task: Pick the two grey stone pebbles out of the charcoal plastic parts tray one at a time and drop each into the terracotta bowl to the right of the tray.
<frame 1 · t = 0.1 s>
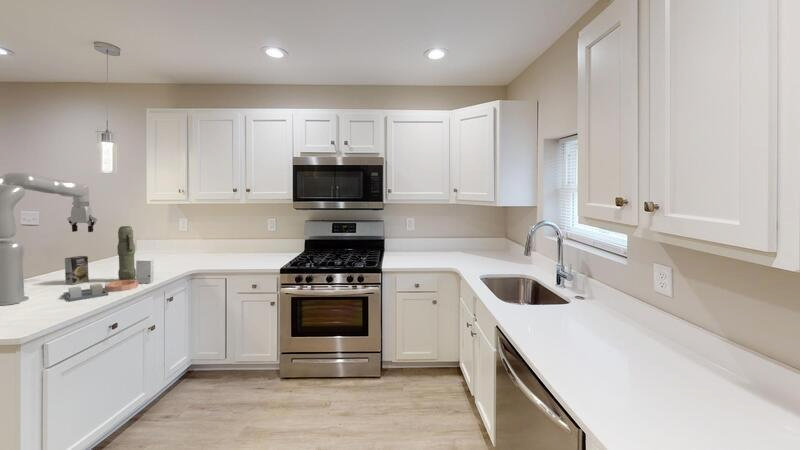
hand: (82, 231, 227), 31 cm above the worktop, tool pointing down, fingers open, 9 cm apart
parts tray: (86, 296, 198), on the worktop
coffee box: (77, 282, 224), on the worktop
pebble a: (75, 297, 194), resting on parts tray
pebble b: (96, 293, 201), resting on parts tray
skincare box: (145, 282, 229), on the worktop
bowl: (121, 288, 214), on the worktop
thermos: (127, 280, 232), on the worktop
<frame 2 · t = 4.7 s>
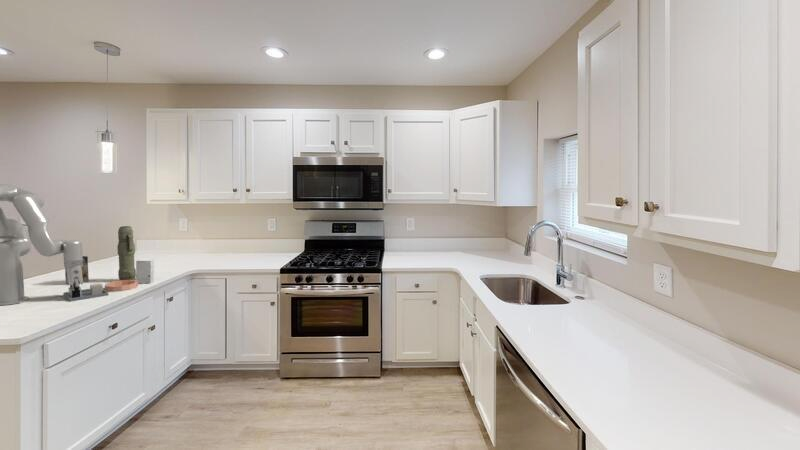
hand: (75, 296, 194), 1 cm above the worktop, tool pointing down, fingers closed on pebble a, 4 cm apart
pebble a: (75, 297, 194), point 1 cm above the worktop, touching gripper, parts tray
everything else where it was.
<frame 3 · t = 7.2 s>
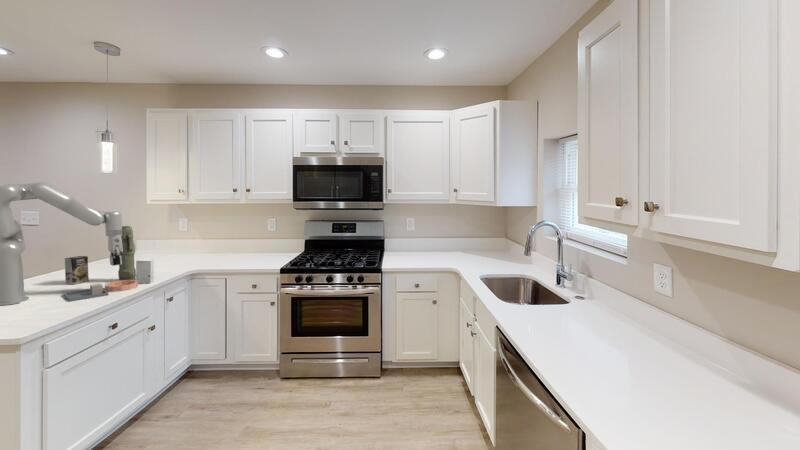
hand: (115, 263, 209), 16 cm above the worktop, tool pointing down, fingers closed on pebble a, 4 cm apart
pebble a: (116, 264, 209), point 15 cm above the worktop, touching gripper
everything else where it was.
when the fingers open (4 cm above the worktop, at t = 9.8 s): pebble a drops 3 cm, resting on bowl.
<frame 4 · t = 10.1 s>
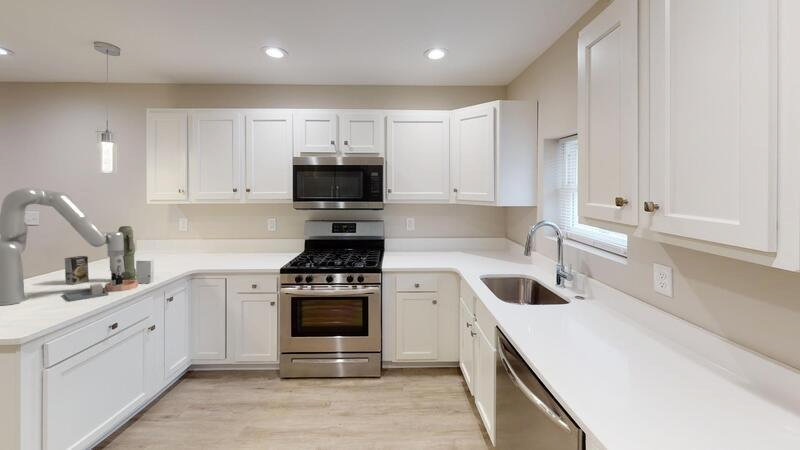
hand: (117, 282, 210), 4 cm above the worktop, tool pointing down, fingers open, 7 cm apart
pebble a: (117, 288, 211), point 1 cm above the worktop, touching bowl
everything else where it was.
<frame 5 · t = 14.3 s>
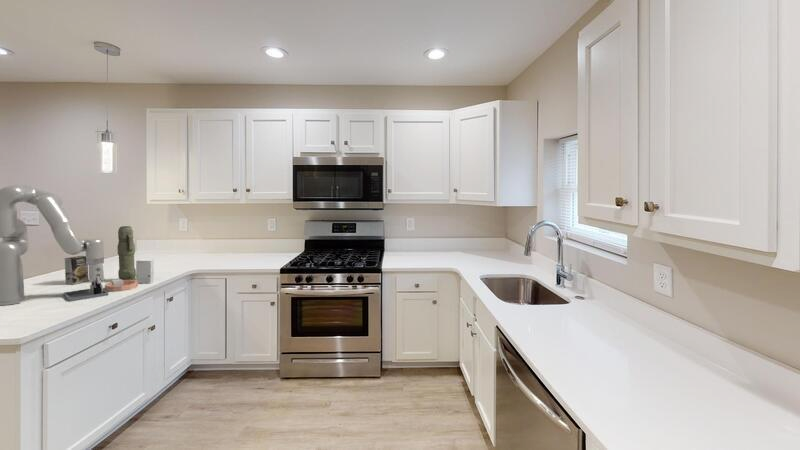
hand: (96, 292, 201), 1 cm above the worktop, tool pointing down, fingers closed on pebble b, 4 cm apart
pebble b: (96, 293, 201), point 1 cm above the worktop, touching gripper, parts tray
everything else where it was.
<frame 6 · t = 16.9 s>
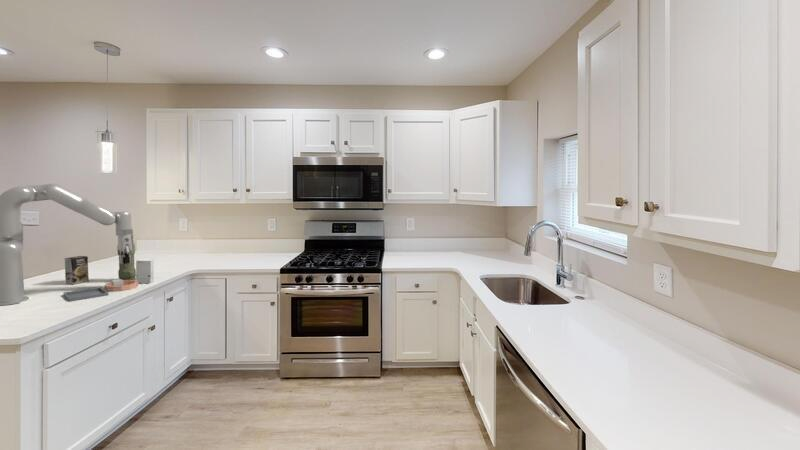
hand: (125, 262, 215), 15 cm above the worktop, tool pointing down, fingers closed on pebble b, 4 cm apart
pebble b: (125, 263, 215), point 15 cm above the worktop, touching gripper
everything else where it was.
when the fingers open (4 cm above the worktop, at t = 19.3 s): pebble b drops 3 cm, resting on bowl.
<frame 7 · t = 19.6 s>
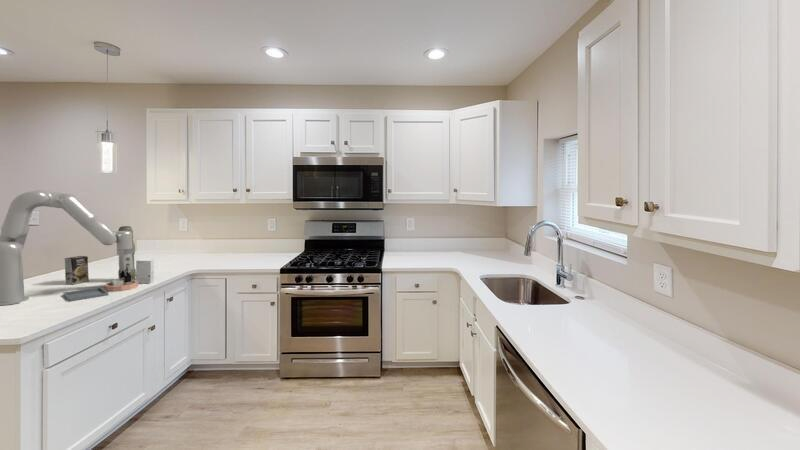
hand: (125, 280, 216), 4 cm above the worktop, tool pointing down, fingers open, 7 cm apart
pebble b: (126, 286, 217), point 1 cm above the worktop, touching bowl
everything else where it was.
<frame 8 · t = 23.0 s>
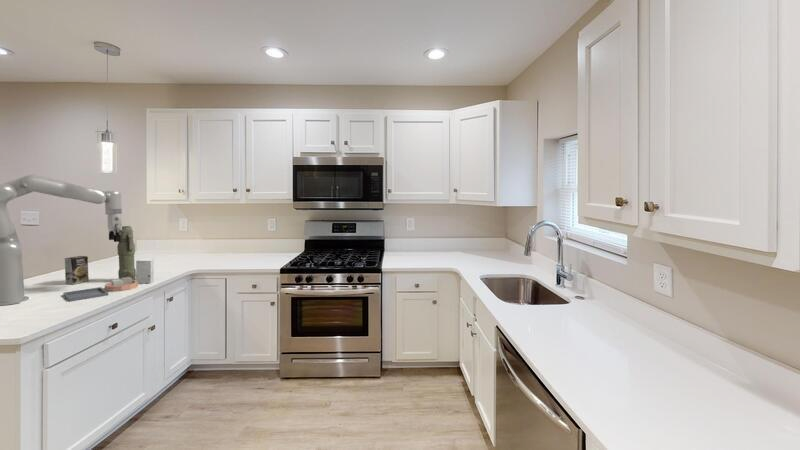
hand: (114, 240, 214), 28 cm above the worktop, tool pointing down, fingers open, 9 cm apart
nothing on the worktop moved.
at the end: pebble a 2.8 cm from the bowl (horizontally); pebble b 3.1 cm from the bowl (horizontally); pebble a point 0.8 cm above the worktop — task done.
